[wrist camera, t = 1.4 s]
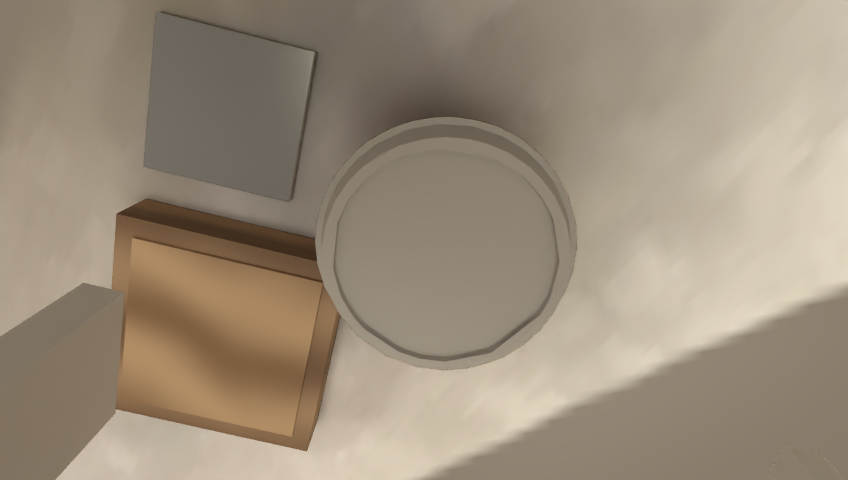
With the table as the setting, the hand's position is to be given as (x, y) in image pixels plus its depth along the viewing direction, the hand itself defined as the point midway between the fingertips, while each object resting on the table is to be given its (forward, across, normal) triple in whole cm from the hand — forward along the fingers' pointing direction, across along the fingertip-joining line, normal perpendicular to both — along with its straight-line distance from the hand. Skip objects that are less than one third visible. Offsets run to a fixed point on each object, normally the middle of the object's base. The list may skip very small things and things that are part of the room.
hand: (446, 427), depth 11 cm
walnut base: (+21, -10, -11) cm, 25 cm away
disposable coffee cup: (+21, 0, 0) cm, 21 cm away
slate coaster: (+21, -12, +1) cm, 24 cm away
